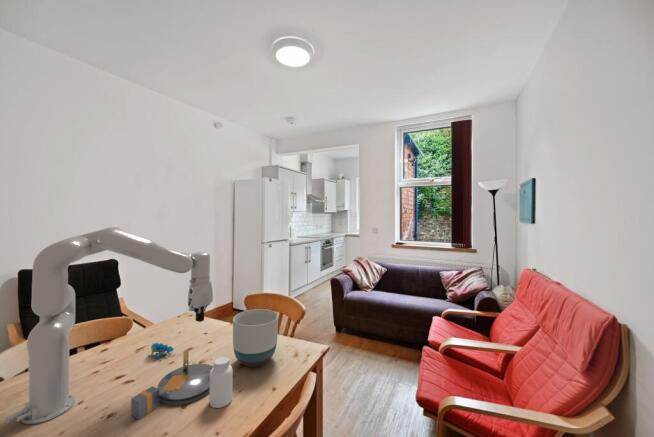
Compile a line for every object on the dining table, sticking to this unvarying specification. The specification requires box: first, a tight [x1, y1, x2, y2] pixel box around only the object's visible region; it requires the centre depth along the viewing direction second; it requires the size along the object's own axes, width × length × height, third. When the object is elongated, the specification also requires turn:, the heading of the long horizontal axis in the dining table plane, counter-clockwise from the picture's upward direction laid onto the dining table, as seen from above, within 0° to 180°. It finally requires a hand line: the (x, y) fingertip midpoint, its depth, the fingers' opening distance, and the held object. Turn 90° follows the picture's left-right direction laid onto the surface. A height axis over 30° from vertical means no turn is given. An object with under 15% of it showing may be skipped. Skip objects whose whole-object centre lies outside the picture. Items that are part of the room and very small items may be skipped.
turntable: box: [157, 350, 214, 401], centre depth 104 cm, size 21×21×9 cm
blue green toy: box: [149, 342, 175, 359], centre depth 125 cm, size 11×6×10 cm
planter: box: [232, 308, 279, 368], centre depth 122 cm, size 20×20×21 cm
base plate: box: [159, 389, 210, 407], centre depth 104 cm, size 22×22×1 cm
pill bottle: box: [208, 356, 234, 409], centre depth 96 cm, size 8×8×15 cm
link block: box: [130, 386, 160, 421], centre depth 91 cm, size 7×4×6 cm, turn 157°
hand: (199, 320), depth 117 cm, fingers closed
